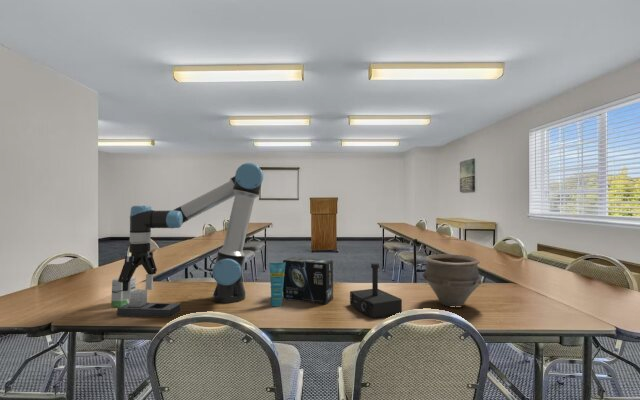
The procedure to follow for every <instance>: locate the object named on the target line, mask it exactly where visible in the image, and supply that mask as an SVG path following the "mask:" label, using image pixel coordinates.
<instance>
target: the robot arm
mask: <svg viewBox="0 0 640 400" xmlns="http://www.w3.org/2000/svg"><path fill="white" fill-rule="evenodd" d="M263 181H264V172H263V171H262V169H261V167H260V166H259V165H258V164H256V163H253V162H244V163H242V164H241V165H239V166H238V167H237V169H236V171H235V175H234V176H233V177H230V178H229V181H227V182H225V183H223V184H222V185H219V186H217V187H216V188H213V189H212V190H210V191H208V192H206V193H204V194H202V195H200V196H198V197H196V198H194V199H192V200H190V201H187V202H186V203H184V204H182V205H180V206H178V207H176V208H174V209H172V210H153V209H152V206H151V205H132V206H131V208H130V214H129V243H128V245H129V247H128V252H129V253H130V254H131V255H130V256H125V257H124V263H123V265H122V269H121V271H120V274H119V276H118V278H119V279H118V282H122V283H123V299H131V282H129V281H130V279H131V278H132V276H133V275H134V274H135V272H136V270H137V268H139V266H142V267H143V269H144V270H145V271H146V273H147V274H145V290H147V291H150V290H151V291H152V290H153V285H154V275H156V274H157V271H158V268H157V266H156V262H155V259H154V255H153V251H151V243H150V242H151V240H152V239H151V238H152V236H151V235H152V233H151V232H152V230H151V229H179V228H181V227H182V225H183V224H184V223H187V222H188V221H189V220H191V219H193V218H196V217H197V216H199V215H201V214H204V213H205V212H207V211H209V210H211V209H213V208H215V207H217V206H218V205H220V204H222V203H224V202H226V201H229V200H230V199H232V198H234V199H233V202H232V207H231V210H230V211H231V212H230V215H229V221H228V224H227V229H226V232H225V236H224V241H223V245H222V248H220V249H219V250H218V251H217V256H216V260H215V264H214V266H213V267H212V277H213V279H214V280H215V282H216V286H215V288H214V290H213V294H212V301H213V302H216V303H222V304H227V303H228V304H230V303H235V302H240V301H243V300H245V299H246V297H247V296H246V293H247V292H246V289H245V286H244V283H243V266H244V265H243V264H244V263H245V262H244V261H245V258H246V257H245V256H246V254H245V252H244V251H243V250H244V246H245V242H246V236H247V233H248V228H249V224H250V221H251V220H250V219H251V215H252V211H253V206H254V201H255V199H256V198H258V197H259V196H260V192H261V187H262V183H263ZM133 277H134V276H133ZM122 278H123V279H122Z"/></svg>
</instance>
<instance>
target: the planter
mask: <svg viewBox="0 0 640 400" xmlns="http://www.w3.org/2000/svg"><path fill="white" fill-rule="evenodd" d="M424 259H425V261H426V265H425V271H424V272H423V273H422V278H423V279H424V280H425V281H426V283H427V284H428V285H429V286H430V288H431V289H432V291H433V292H434V294H435V296H436V297H437V299H438V300H439V301H440V303H441V305H442V306H444V305H446V306H445V307H447V306H455V307H456V306H462V305H463V306H464V304H466V301H467V300H468V298H469V297H470V296H471V295H472V294H473V293H474V292H475V290H476V289H477V288H478V287H479V286H480V285H481V284H483V282H482V276H481V275H480V272H479V268H478V264H480V260H479V259H477V258H475V257H472V256H470V255H465V254H464V255H463V254H449V253H440V254H430V255H427V256H425V257H424ZM463 306H462V307H463Z"/></svg>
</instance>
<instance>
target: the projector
mask: <svg viewBox="0 0 640 400" xmlns="http://www.w3.org/2000/svg"><path fill="white" fill-rule="evenodd" d="M370 268H372V269H371V270H372V273H371V274H372V275H371V276H372V280H371V282H372V284H371V287H372V288H367V289H359V290H351V291H349V304H350V305H351V306H352V305H353V308H354V309H356V310H357V311H359V312H361V313H363V314H364V315H366V316H369V317H371V318H373V319H377V317H378V318H382V317H390V316H394V315H393V314H396V313H399V312H402V313H403V305H402V303H403V300H402V299H401V298H400V297H397V296H395V295H393V294H390V293H389V292H386V291H384V290H382V289H379V288H378V287H379V281H378V280H379V275H378V273H379V270H378V269H379V268H380V263H378V262H372V263H370ZM396 315H397V314H396Z"/></svg>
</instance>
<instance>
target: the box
mask: <svg viewBox="0 0 640 400" xmlns="http://www.w3.org/2000/svg"><path fill="white" fill-rule="evenodd" d="M282 262H286V265H285V272H284V283H283V298H282V299H284V298H285V299H284V300H290V299H291V301H298V302H299V301H300V302H301V301H302V302H305V303H307V302H308V303H315V304H323V305H327V304H329V302H330V301H332V299H334V261H333V259H320V258H304V257H290V258H287V259H283V260H282Z"/></svg>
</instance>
